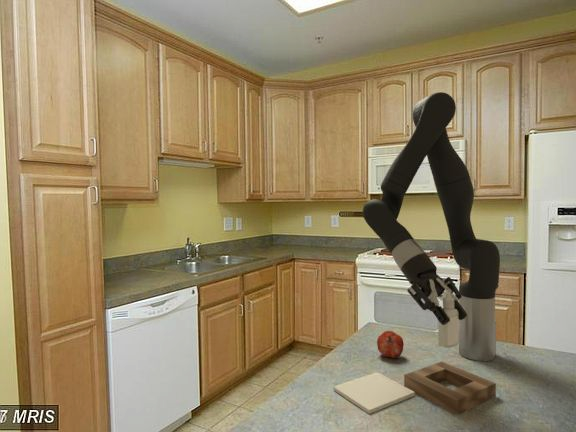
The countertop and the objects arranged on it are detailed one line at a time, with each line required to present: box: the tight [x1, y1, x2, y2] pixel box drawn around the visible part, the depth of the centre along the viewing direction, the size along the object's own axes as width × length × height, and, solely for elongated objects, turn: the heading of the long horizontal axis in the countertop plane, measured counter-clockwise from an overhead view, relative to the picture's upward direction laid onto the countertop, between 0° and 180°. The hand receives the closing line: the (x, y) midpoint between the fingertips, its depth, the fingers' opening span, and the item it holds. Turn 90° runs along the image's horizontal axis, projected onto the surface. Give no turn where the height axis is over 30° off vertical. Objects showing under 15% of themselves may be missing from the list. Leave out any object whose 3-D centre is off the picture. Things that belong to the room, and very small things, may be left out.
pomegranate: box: [376, 330, 405, 359], centre depth 109 cm, size 7×7×10 cm
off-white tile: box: [332, 372, 416, 415], centre depth 88 cm, size 14×12×1 cm
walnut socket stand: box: [403, 361, 497, 416], centre depth 88 cm, size 14×14×3 cm
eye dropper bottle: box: [437, 293, 459, 349], centre depth 88 cm, size 4×6×12 cm
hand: (455, 320), depth 86 cm, fingers closed on eye dropper bottle, 5 cm apart
